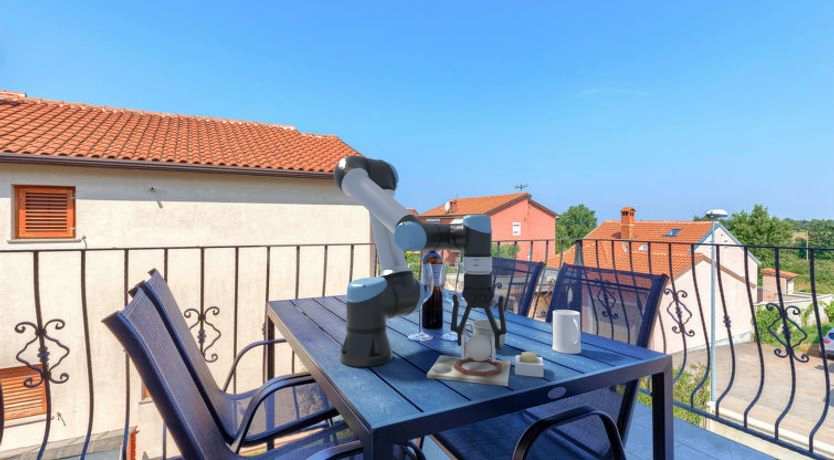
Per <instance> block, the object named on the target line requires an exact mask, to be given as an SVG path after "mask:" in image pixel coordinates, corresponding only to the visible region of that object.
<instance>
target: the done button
mask: <svg viewBox="0 0 834 460" xmlns="http://www.w3.org/2000/svg"><path fill="white" fill-rule="evenodd" d="M520 355H521V360H522V361H524V362H530V363H533V362H537V357H538V354H537V353H536V352H532V351H523V352H521V354H520Z"/></svg>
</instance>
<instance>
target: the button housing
mask: <svg viewBox="0 0 834 460" xmlns="http://www.w3.org/2000/svg"><path fill="white" fill-rule="evenodd" d="M514 370H515V371H514V373H515V376H523V377H524V376H525V377H526V376H527V377H536V378H537V377H538V378H544V360H543V357H541V356H537V362H533V363H530V362H524V361H522V360H521V354H519V355H518V354H515V362H514Z"/></svg>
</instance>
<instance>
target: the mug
mask: <svg viewBox="0 0 834 460" xmlns="http://www.w3.org/2000/svg"><path fill="white" fill-rule="evenodd" d="M581 335H582V333H581V313H580V312H579V311H576V310H569V309H555V310H553V311H552V350H553V351H554V352H557V353H560V354H566V355H567V354H568V355H575V354H580V353H582V348H581V347H582V346H581Z"/></svg>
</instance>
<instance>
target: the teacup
mask: <svg viewBox="0 0 834 460" xmlns="http://www.w3.org/2000/svg"><path fill="white" fill-rule="evenodd" d="M495 321H496V324H497V326H498V329H501V326H500V320H498V319H495ZM467 327H470V331H472V334H471V333H469V332H467V329H466V328H467ZM463 332H465V333H466V336H467V337H468V339H470V337H472V336H474V335H484V336H486V337H488V338H489V339H490V341H491V343H492V334H494V332H493V330H492V327H491V325H490V322H489V320H488V318H487V319H486V318H485V319H483V318H482V319H477V320H474V321H472V322H466V324H465V327H464V329H463ZM505 342H506V334H503V335H500V346H499V349H500V347H503V345H504V344H505ZM496 350H498V348H496Z"/></svg>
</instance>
